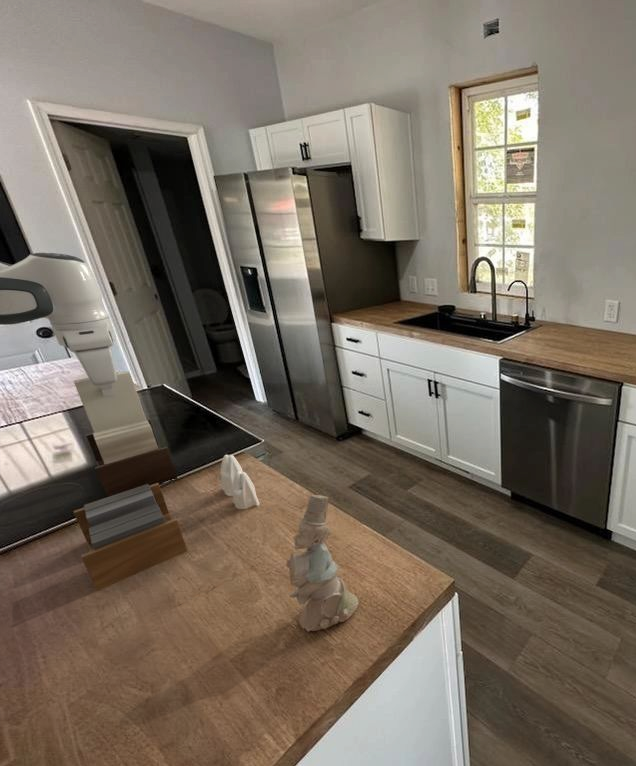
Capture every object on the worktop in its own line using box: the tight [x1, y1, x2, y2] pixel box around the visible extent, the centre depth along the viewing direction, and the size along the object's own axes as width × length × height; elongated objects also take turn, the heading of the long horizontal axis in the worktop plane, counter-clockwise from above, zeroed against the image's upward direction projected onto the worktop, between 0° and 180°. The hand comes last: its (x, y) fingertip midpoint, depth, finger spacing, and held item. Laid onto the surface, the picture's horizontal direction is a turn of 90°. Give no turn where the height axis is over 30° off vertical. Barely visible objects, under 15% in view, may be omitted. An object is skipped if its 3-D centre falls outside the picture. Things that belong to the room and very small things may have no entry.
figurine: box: [285, 494, 359, 632], centre depth 62 cm, size 9×8×20 cm
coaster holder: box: [73, 483, 188, 592], centre depth 74 cm, size 16×12×10 cm
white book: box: [73, 370, 147, 433], centre depth 93 cm, size 2×9×13 cm, turn 138°
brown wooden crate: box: [85, 417, 178, 498], centre depth 97 cm, size 21×12×14 cm, turn 48°
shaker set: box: [220, 454, 260, 510], centre depth 88 cm, size 12×4×11 cm, turn 49°
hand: (108, 392), depth 92 cm, fingers closed on white book, 2 cm apart
